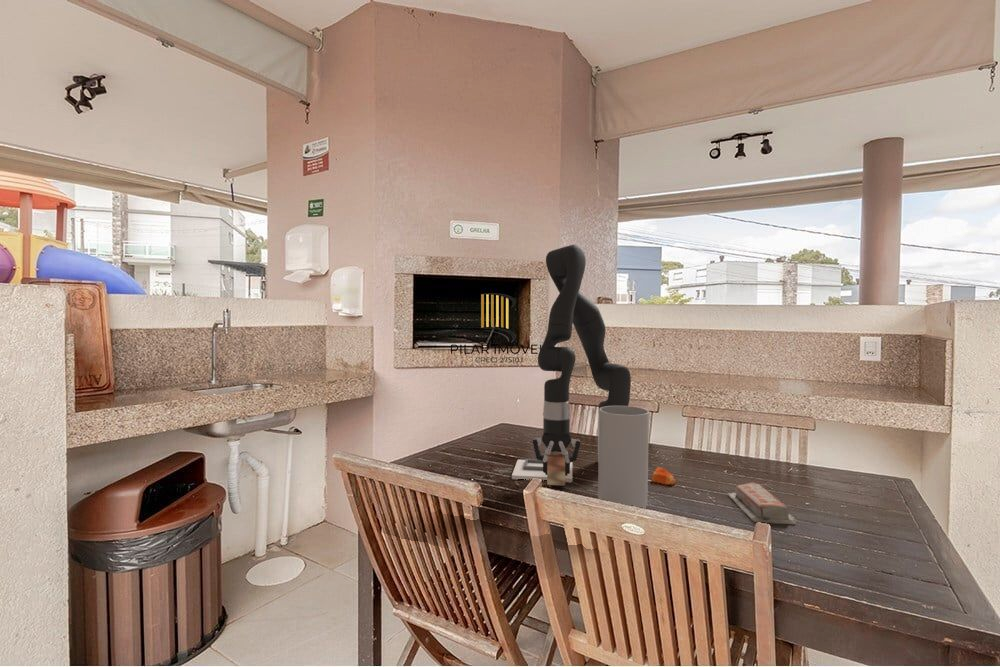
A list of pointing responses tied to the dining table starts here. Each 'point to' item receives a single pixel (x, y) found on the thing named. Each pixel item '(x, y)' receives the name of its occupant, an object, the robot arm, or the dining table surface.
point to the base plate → (533, 470)
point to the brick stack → (556, 469)
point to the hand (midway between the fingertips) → (556, 474)
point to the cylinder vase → (623, 455)
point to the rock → (663, 476)
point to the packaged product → (761, 504)
